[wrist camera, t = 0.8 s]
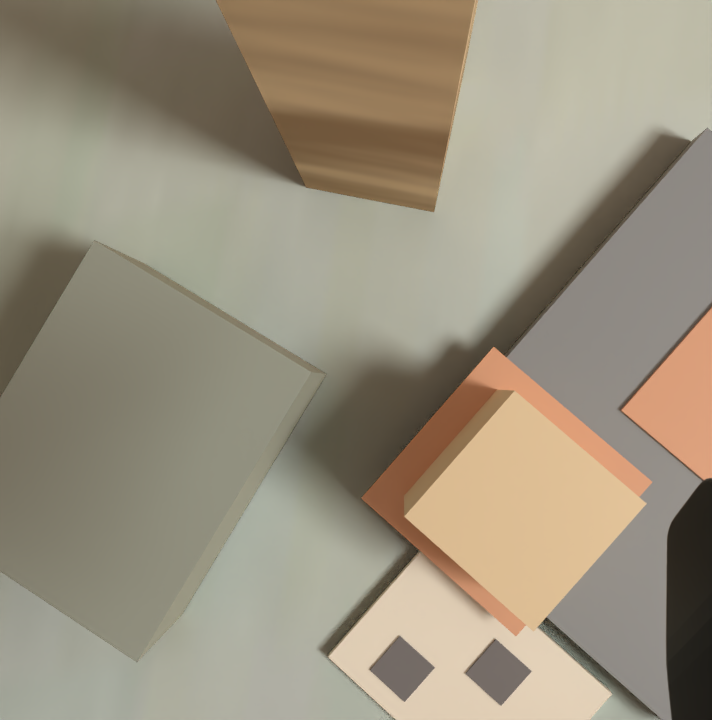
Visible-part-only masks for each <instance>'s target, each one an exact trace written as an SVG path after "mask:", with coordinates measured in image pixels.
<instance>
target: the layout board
mask: <svg viewBox="0 0 712 720" xmlns="http://www.w3.org/2000/svg"><path fill="white" fill-rule="evenodd" d="M707 478H712V131H711V130H709V129H708V128H707V129H705V130H704V131H703V132H702V133H701V134H699V135H698V136H697V137H696V138H695V139H694V140H692V141H691V143H690V144H689V145H688V146H687V147H686V148H685V149H684V151H683V152H682V153H681V154H680V155H679V156H678V157H677V159H676V160H675V161H674V162H673V163H672V164H671V165H670V167H669V168H668V169H667V170H666V171H665V172H664V173H663V175H662V176H661V177H660V178H659V179H658V180H657V181H656V183H655V184H654V185H653V186H652V187H651V188H650V189H649V191H648V192H647V193H646V194H645V195H644V196H643V197H642V199H641V200H640V201H639V202H638V203H637V204H636V205H635V207H634V208H633V209H632V210H631V211H630V212H629V213H628V215H627V216H626V217H625V218H624V219H623V220H622V221H621V223H620V224H619V225H618V226H617V227H616V228H615V229H614V231H613V232H612V233H611V234H610V235H609V236H608V237H607V239H606V240H605V241H604V242H603V243H602V244H601V245H600V247H599V248H598V249H597V250H596V251H595V252H594V253H593V255H592V256H591V257H590V258H589V259H588V260H587V261H586V263H585V264H584V265H583V266H582V267H581V268H580V269H579V271H578V272H577V273H576V274H575V275H574V276H573V277H572V279H571V280H570V281H569V282H568V283H567V284H566V285H565V287H564V288H563V289H562V290H561V291H560V292H559V293H558V295H557V296H556V297H555V298H554V299H553V300H552V301H551V303H550V304H549V305H548V306H547V307H546V308H545V309H544V311H543V312H542V313H541V314H540V315H539V316H538V317H537V319H536V320H535V321H534V322H533V323H532V324H531V325H530V327H529V328H528V329H527V330H526V331H525V332H524V333H523V335H522V336H521V337H520V338H519V339H518V340H517V341H516V343H515V344H514V345H513V346H512V347H511V348H510V349H509V351H508V352H507V353H506V354H505V355H503V354H502V353H501V352H499V351H498V350H497V349H496V348H495V347H493V348H492V349H491V350H490V351H489V352H488V354H487V355H486V356H485V357H484V358H483V359H482V360H481V362H480V363H479V364H478V365H477V366H476V367H475V368H474V370H473V371H472V372H471V373H470V374H469V375H468V376H467V378H466V379H465V380H464V381H463V382H462V383H461V384H460V386H459V387H458V388H457V389H456V390H455V391H454V392H453V394H452V395H451V396H450V397H449V398H448V399H447V400H446V402H445V403H444V404H443V405H442V406H441V407H440V408H439V410H438V411H437V412H436V413H435V414H434V415H433V416H432V418H431V419H430V420H429V421H428V422H427V423H426V424H425V426H424V427H423V428H422V429H421V430H420V431H419V432H418V434H417V435H416V436H415V437H414V438H413V439H412V440H411V442H410V443H409V444H408V445H407V446H406V447H405V448H404V450H403V451H402V452H401V453H400V454H399V455H398V456H397V458H396V459H395V460H394V461H393V462H392V463H391V464H390V466H389V467H388V468H387V469H386V470H385V471H384V473H383V474H382V475H381V476H380V477H379V478H378V479H377V481H376V482H375V483H374V484H373V485H372V486H371V487H370V489H369V490H368V491H367V492H366V493H365V494H364V495H363V497H362V498H361V499H362V500H364V501H365V502H366V503H367V504H368V505H369V506H370V507H371V508H373V509H374V510H375V511H376V512H377V513H378V514H379V515H380V516H382V517H383V518H384V519H385V520H386V521H387V522H388V523H389V524H390V525H392V526H393V527H394V528H395V529H396V530H397V531H398V532H399V533H401V534H402V535H403V536H404V537H405V538H406V539H407V540H408V541H410V542H411V543H412V544H413V545H414V546H415V547H416V548H417V549H418V550H420V551H421V552H422V553H423V554H424V555H425V556H426V557H427V558H429V559H430V560H431V561H432V562H433V563H434V564H435V565H436V566H438V567H439V568H440V569H441V570H442V571H443V572H444V573H445V574H446V575H448V576H449V577H450V578H451V579H452V580H453V581H454V582H455V583H457V584H458V585H459V586H460V587H461V588H462V589H463V590H464V591H466V592H467V593H468V594H469V595H470V596H471V597H472V598H473V599H474V600H476V601H477V602H478V603H479V604H480V605H481V606H482V607H483V608H485V609H486V610H487V611H488V612H489V613H490V614H491V615H492V616H494V617H495V618H496V619H497V620H498V621H499V622H500V623H501V624H502V625H504V626H505V627H506V628H507V629H508V630H509V631H510V632H511V633H513V634H514V635H515V636H517V635H518V634H519V633H520V631H521V630H522V629H523V628H524V627H525V626H526V625H527V626H528V627H529V628H530V629H531V630H532V631H533V632H534V631H535V629H536V628H537V627H538V626H539V625H540V624H541V623H542V621H543V620H544V619H545V618H546V617H547V618H548V619H549V620H550V621H551V622H552V623H553V624H555V625H556V626H557V627H558V628H559V629H560V630H561V631H563V632H564V633H565V634H566V635H567V636H568V637H569V638H570V639H572V640H573V641H574V642H575V643H576V644H577V645H578V646H579V647H581V648H582V649H583V650H584V651H585V652H586V653H587V654H588V655H590V656H591V657H592V658H593V659H594V660H595V661H596V662H598V663H599V664H600V665H601V666H602V667H603V668H604V669H605V670H607V671H608V672H609V673H610V674H611V675H612V676H613V677H614V678H616V679H617V680H618V681H619V682H620V683H621V684H622V685H623V686H625V687H626V688H627V689H628V690H629V691H630V692H631V693H633V694H634V695H635V696H636V697H637V698H638V699H639V700H640V701H642V702H643V703H644V704H645V705H646V706H647V707H648V708H649V709H651V710H652V711H653V712H654V713H655V714H656V715H657V716H658V717H660V718H661V719H662V720H672V719H671V710H670V701H669V691H668V681H667V668H666V565H667V534H668V530H669V526H670V524H671V522H672V520H673V518H674V517H675V516H676V514H677V513H678V512H679V510H680V509H681V508H682V506H683V505H684V504H685V502H686V501H687V500H688V498H689V497H690V496H691V494H692V493H693V492H694V490H695V489H696V488H697V487H698V485H699V484H700V483H701V482H702V481H704V480H705V479H707Z"/></svg>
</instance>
